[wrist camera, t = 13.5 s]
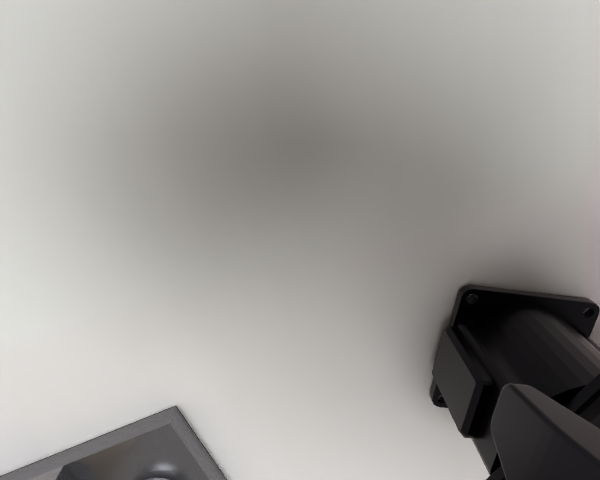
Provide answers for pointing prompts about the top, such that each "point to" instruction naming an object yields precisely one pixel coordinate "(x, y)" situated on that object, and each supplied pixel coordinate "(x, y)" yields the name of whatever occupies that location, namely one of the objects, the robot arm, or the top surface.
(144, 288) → the top surface
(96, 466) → the grey frame with knob
